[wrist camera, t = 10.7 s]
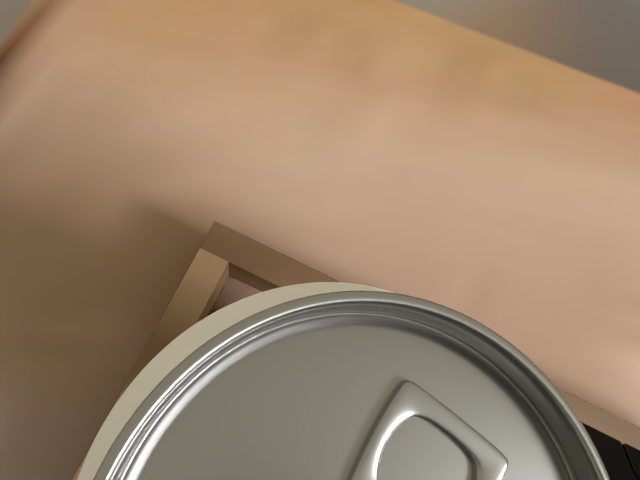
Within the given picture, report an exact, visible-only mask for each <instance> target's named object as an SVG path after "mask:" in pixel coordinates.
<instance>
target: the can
mask: <svg viewBox="0 0 640 480" xmlns="http://www.w3.org/2000/svg"><path fill="white" fill-rule="evenodd" d="M77 480H610V478H609V476H608V473H607V471H606V469H605V466H604V464H603V462H602V460H601V457H600V455H599V453H598V451H597V449H596V447H595V445H594V444H593V442H592V440H591V438H590V436H589V434H588V433H587V431H586V429H585V428H584V426H583V424H582V423H581V421H580V419H579V418H578V416H577V415H576V413H575V412H574V410H573V409H572V408H571V406H570V405H569V403H568V402H567V401H566V399H565V398H564V397H563V395H562V394H561V393H560V392H559V390H558V389H557V388H556V387H555V385H554V384H553V383H552V382H551V381H550V380H549V379H548V377H547V376H546V375H545V374H544V373H543V372H542V371H541V370H540V369H539V368H538V367H537V366H536V365H535V364H534V363H533V362H532V361H531V360H530V359H529V358H528V357H526V356H525V355H524V354H523V353H522V352H521V351H520V350H518V349H517V348H516V347H515V346H514V345H512V344H511V343H510V342H508V341H507V340H506V339H504V338H503V337H501V336H500V335H499V334H497V333H496V332H494V331H493V330H491V329H489V328H488V327H486V326H485V325H483V324H481V323H479V322H478V321H476V320H474V319H472V318H470V317H468V316H466V315H464V314H462V313H460V312H458V311H455V310H453V309H451V308H448V307H446V306H443V305H440V304H437V303H434V302H431V301H428V300H424V299H421V298H417V297H412V296H408V295H403V294H398V293H395V292H392V291H388V290H385V289H381V288H376V287H372V286H367V285H361V284H353V283H342V282H314V283H303V284H295V285H289V286H284V287H279V288H275V289H271V290H267V291H264V292H260V293H257V294H254V295H251V296H249V297H246V298H244V299H241V300H239V301H236V302H234V303H232V304H230V305H227V306H225V307H223V308H221V309H220V310H218V311H216V312H214V313H212V314H210V315H209V316H207V317H205V318H204V319H202V320H201V321H199V322H197V323H196V324H194V325H193V326H192V327H190V328H189V329H187V330H186V331H185V332H183V333H182V334H181V335H179V336H178V337H177V338H175V339H174V340H173V341H172V342H171V343H170V344H168V345H167V346H166V347H165V348H164V349H163V350H162V351H161V352H159V353H158V354H157V355H156V356H155V357H154V358H153V359H152V360H151V361H150V362H149V363H148V364H147V365H146V366H145V368H144V369H143V370H142V371H141V372H140V373H139V374H138V375H137V376H136V378H135V379H134V380H133V381H132V383H131V384H130V385H129V386H128V388H127V389H126V390H125V392H124V393H123V394H122V396H121V397H120V398H119V400H118V401H117V403H116V404H115V406H114V407H113V408H112V410H111V412H110V413H109V415H108V416H107V418H106V420H105V421H104V423H103V425H102V427H101V428H100V430H99V432H98V434H97V436H96V438H95V440H94V442H93V443H92V445H91V447H90V450H89V452H88V454H87V456H86V458H85V461H84V463H83V466H82V468H81V471H80V473H79V476H78V478H77Z"/></svg>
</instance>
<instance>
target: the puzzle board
mask: <svg viewBox="0 0 640 480" xmlns="http://www.w3.org/2000/svg"><path fill="white" fill-rule="evenodd" d="M228 276H231V277H234V278H236V279H238V280H240V281H242V282H244V283H246V284H248V285H250V286H252V287H254V288H256V289H258V290H261V291H263V292H264V291H267V290H271V289H275V288H279V287H284V286H289V285H295V284H303V283H314V282H339V281H337V280H335V279H333V278H331V277H329V276H327V275H325V274H323V273H320V272H318V271H316V270H314V269H312V268H310V267H308V266H306V265H304V264H302V263H300V262H298V261H296V260H294V259H292V258H290V257H288V256H286V255H283V254H281V253H279V252H277V251H275V250H273V249H271V248H269V247H267V246H265V245H263V244H261V243H259V242H257V241H255V240H253V239H251V238H249V237H246V236H244V235H242V234H240V233H238V232H236V231H234V230H232V229H230V228H228V227H226V226H224V225H222V224H220V223H218V222H216V221H215V222H214V223H213V225H212V227H211V229H210V231H209V232H208V234H207V236H206V238H205V240H204V241H203V243H202V245H201V247H200V249H199V251H198V252H197V254H196V256H195V258H194V260H193V261H192V263H191V265H190V267H189V269H188V270H187V272H186V274H185V276H184V278H183V280H182V281H181V283H180V285H179V287H178V289H177V290H176V292H175V294H174V296H173V298H172V299H171V301H170V303H169V305H168V307H167V309H166V310H165V312H164V314H163V316H162V318H161V319H160V321H159V323H158V325H157V327H156V328H155V330H154V332H153V334H152V336H151V338H150V339H149V341H148V343H147V345H146V347H145V348H144V350H143V352H142V354H141V356H140V357H139V359H138V361H137V363H136V365H135V367H134V368H133V370H132V372H131V374H130V376H129V377H128V379H127V381H126V383H125V385H124V386H123V388H122V390H121V392H120V394H119V396H118V397H117V399H116V401H115V403H114V405H113V406H112V408H113V407H114V406H115V404H116V403H117V401H118V400H119V398H120V397H121V396H122V394H123V393H124V392H125V390H126V389H127V388H128V386H129V385H130V384H131V383H132V381H133V380H134V379H135V378H136V376H137V375H138V374H139V373H140V372H141V371H142V370H143V369H144V368H145V366H146V365H147V364H148V363H149V362H150V361H151V360H152V359H153V358H154V357H155V356H156V355H157V354H158V353H159V352H161V351H162V350H163V349H164V348H165V347H166V346H167V345H168V344H170V343H171V342H172V341H173V340H174V339H175V338H177V337H178V336H179V335H181V334H182V333H183V332H185V331H186V330H187V329H189V328H190V327H192V326H193V325H194V324H196V323H197V322H199V321H201V320H202V319H204V318H205V317H207V316H208V315H209V313H210V311H211V309H212V307H213V305H214V303H215V301H216V299H217V297H218V296H219V294H220V292H221V290H222V288H223V286H224V284H225V282H226V280H227V278H228ZM556 388H557V387H556ZM557 389H558V390H559V392H560V393H561V394H562V395H563V397H564V398H565V399H566V401H567V402H568V403H569V405H570V406H571V408H572V409H573V410H574V412H575V413H576V415H577V416H578V418H579V419H580V421H581V422H583V423H585V424H587V425H589V426H591V427H593V428H595V429H597V430H599V431H601V432H603V433H605V434H607V435H609V436H611V437H613V438H615V439H617V440H619V441H621V443H622V444H624V443H626V444H628V445H630V446H632V447H634V448H636V449H638V450H640V428H639V427H637V426H635V425H633V424H631V423H629V422H627V421H625V420H623V419H621V418H619V417H617V416H614V415H612V414H610V413H608V412H606V411H604V410H602V409H600V408H598V407H596V406H594V405H592V404H590V403H588V402H586V401H584V400H582V399H580V398H577V397H575V396H573V395H571V394H569V393H567V392H565V391H563V390H561V389H559V388H557ZM112 408H111V410H112ZM111 410H110V412H111ZM110 412H109V413H110ZM108 415H109V414H108ZM108 415H107V416H108ZM106 418H107V417H106ZM105 420H106V419H105ZM101 427H102V426H101ZM96 436H97V435H96ZM95 438H96V437H95ZM94 440H95V439H94ZM93 442H94V441H93ZM91 445H92V444H91ZM90 447H91V446H90ZM89 450H90V448H89ZM89 450H88V452H89ZM88 452H87V454H88ZM87 454H86V455H85V457H84V459H83V461H82V463H81V464H80V466H79V468H78V470H77V472H76V473H75V475H74V477H73V479H72V480H77V478H78V476H79V473H80V471H81V468H82V466H83V463H84V461H85V458H86V456H87Z"/></svg>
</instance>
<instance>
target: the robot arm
mask: <svg viewBox="0 0 640 480" xmlns="http://www.w3.org/2000/svg"><path fill="white" fill-rule="evenodd" d="M581 423H582V424H583V426H584V428H585V429H586V431H587V433H588V434H589V436H590V438H591V440H592V442H593V444H594V445H595V447H596V449H597V451H598V453H599V455H600V457H601V460H602V462H603V464H604V466H605V469H606V471H607V473H608V476H609V478H610V480H640V450H638V449H636V448H634V447H632V446H630V445H628V444H626V443H624V444H622V443H621V441H619V440H617V439H615V438H613V437H611V436H609V435H607V434H605V433H603V432H601V431H599V430H597V429H595V428H593V427H591V426H589V425H587V424H585V423H583V422H581Z"/></svg>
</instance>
